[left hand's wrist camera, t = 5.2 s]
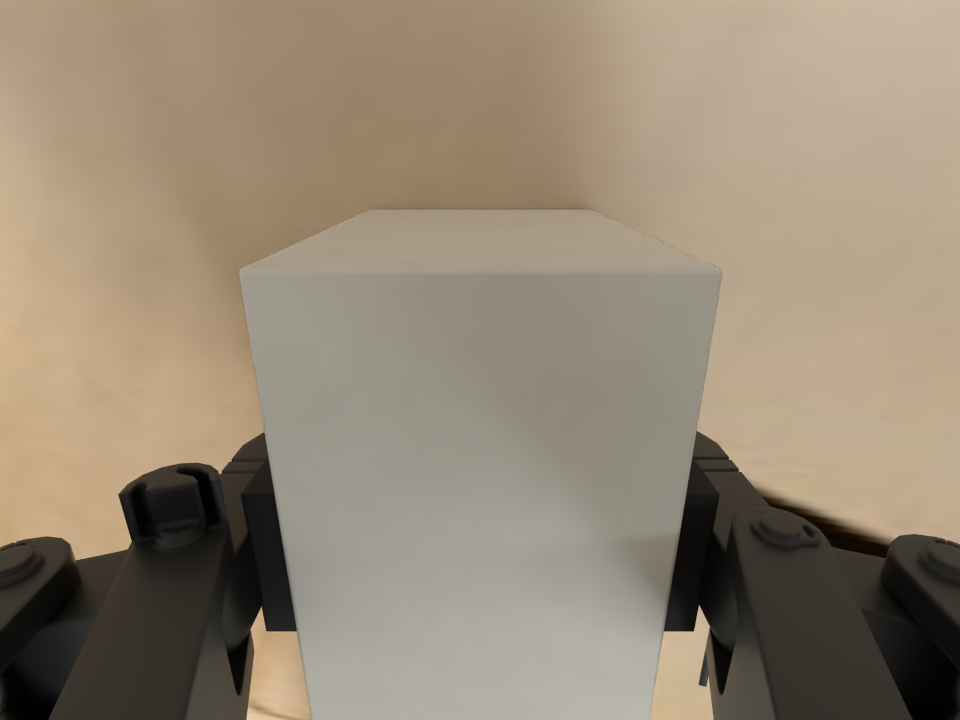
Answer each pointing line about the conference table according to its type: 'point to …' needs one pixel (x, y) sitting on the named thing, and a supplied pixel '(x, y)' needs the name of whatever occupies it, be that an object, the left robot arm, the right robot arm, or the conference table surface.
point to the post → (480, 456)
